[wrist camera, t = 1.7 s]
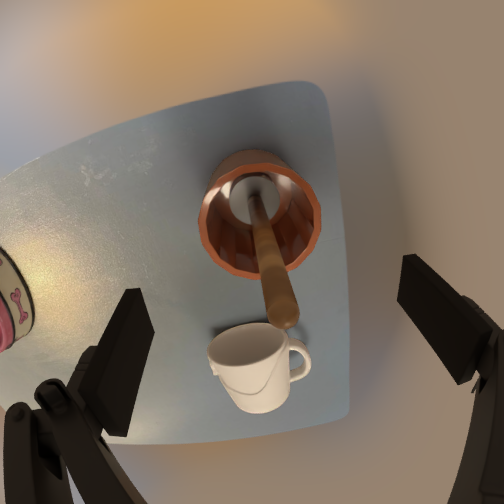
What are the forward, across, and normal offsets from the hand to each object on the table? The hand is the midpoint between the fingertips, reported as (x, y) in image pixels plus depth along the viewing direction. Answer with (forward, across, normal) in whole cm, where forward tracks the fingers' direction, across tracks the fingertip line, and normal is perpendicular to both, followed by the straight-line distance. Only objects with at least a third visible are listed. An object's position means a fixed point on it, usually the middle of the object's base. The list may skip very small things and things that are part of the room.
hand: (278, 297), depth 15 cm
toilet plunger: (+19, 0, 0) cm, 19 cm away
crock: (+19, 0, 0) cm, 19 cm away
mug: (+20, -1, -21) cm, 29 cm away
